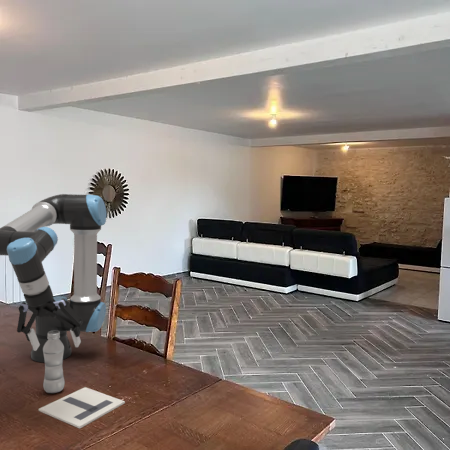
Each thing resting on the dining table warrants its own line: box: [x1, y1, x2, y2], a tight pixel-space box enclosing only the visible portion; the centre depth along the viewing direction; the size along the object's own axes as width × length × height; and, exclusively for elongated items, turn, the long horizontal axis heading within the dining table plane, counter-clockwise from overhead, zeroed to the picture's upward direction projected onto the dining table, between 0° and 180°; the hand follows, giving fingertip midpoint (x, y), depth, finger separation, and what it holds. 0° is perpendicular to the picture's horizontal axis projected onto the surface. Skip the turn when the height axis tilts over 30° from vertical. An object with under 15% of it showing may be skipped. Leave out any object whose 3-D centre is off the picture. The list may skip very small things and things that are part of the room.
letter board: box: [38, 386, 126, 430], centre depth 137 cm, size 18×18×1 cm
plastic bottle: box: [42, 331, 65, 394], centre depth 146 cm, size 6×7×20 cm
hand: (57, 346), depth 139 cm, fingers open, 13 cm apart
